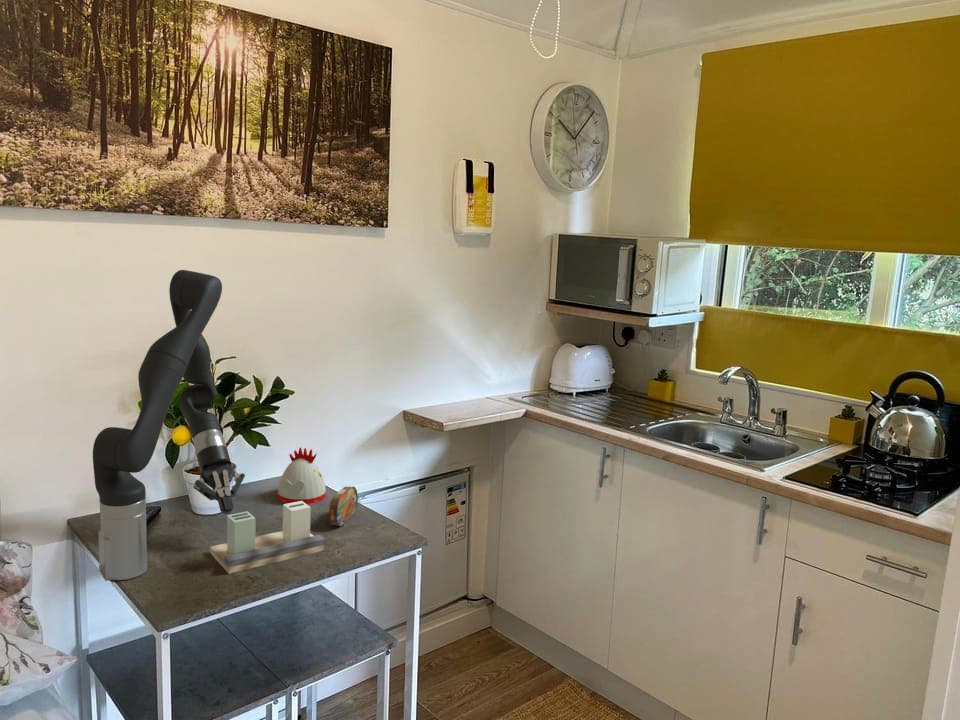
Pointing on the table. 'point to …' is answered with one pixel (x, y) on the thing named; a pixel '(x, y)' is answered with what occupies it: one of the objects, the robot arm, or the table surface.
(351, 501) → the tin
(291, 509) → the key one
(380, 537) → the table surface
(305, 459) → the kitchen timer
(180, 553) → the table surface
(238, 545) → the key two
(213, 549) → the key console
